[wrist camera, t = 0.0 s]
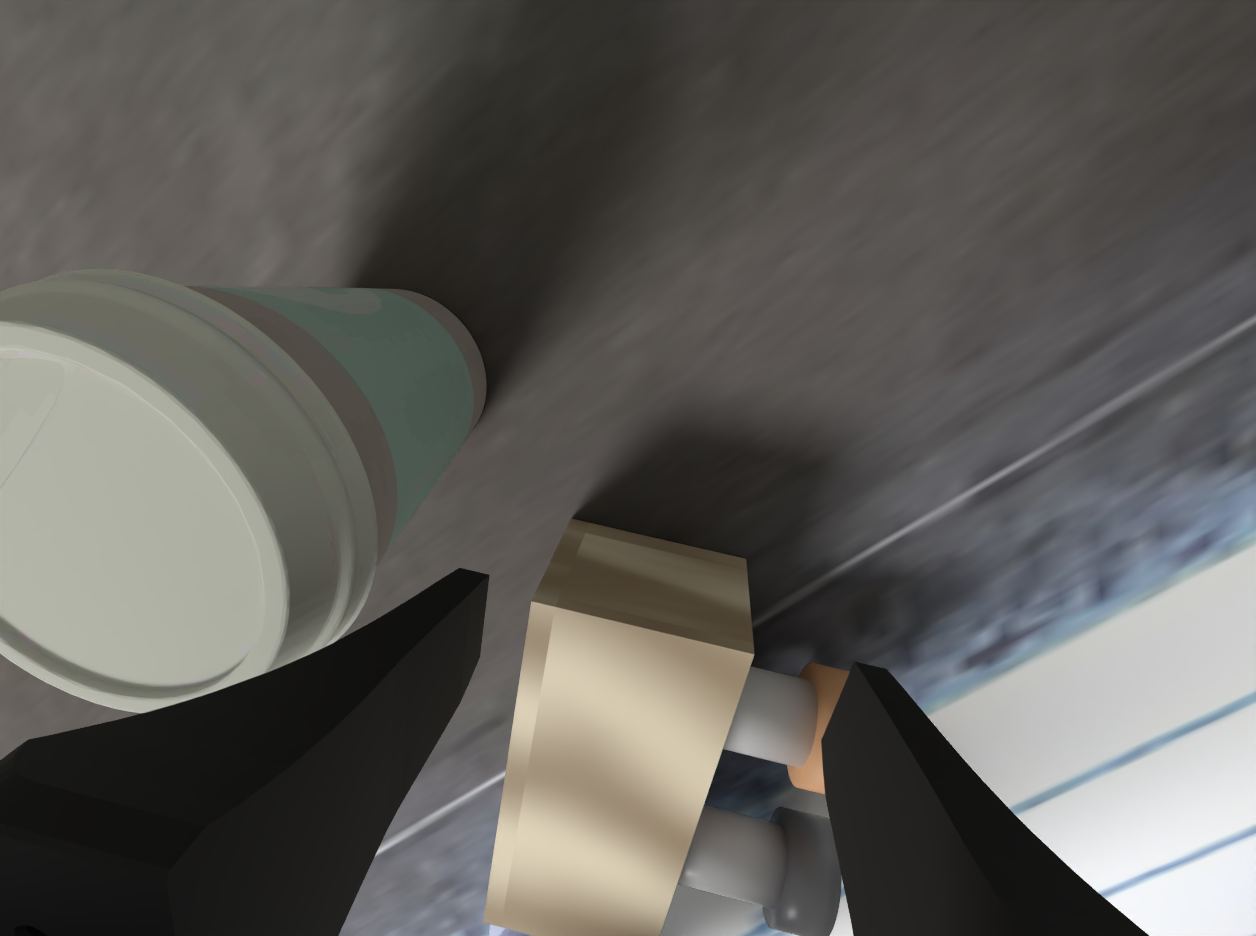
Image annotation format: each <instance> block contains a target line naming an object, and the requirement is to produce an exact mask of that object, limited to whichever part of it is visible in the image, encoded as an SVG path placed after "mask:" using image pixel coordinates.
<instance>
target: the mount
mask: <svg viewBox="0 0 1256 936" xmlns="http://www.w3.org/2000/svg"><path fill="white" fill-rule="evenodd" d="M754 655H755V654H754V643H753V631H752V620H751V609H750V597H749V586H748V574H747V563H746V559H744V558H740V557H736V556H731V555H727V554H723V553H718V552H714V551H710V550H705V549H701V548H697V547H692V546H688V545H684V544H679V543H675V542H671V541H666V540H662V539H658V538H654V537H649V536H645V535H641V534H636V533H632V532H628V531H623V530H619V529H615V528H610V527H606V526H602V525H597V524H593V523H589V522H584V521H580V520H576V519H571V520H570V522H569V524H568V526H567V528H566V530H565V532H564V534H563V536H562V539H561V541H560V543H559V545H558V547H557V549H556V551H555V553H554V555H553V557H552V559H551V561H550V564H549V566H548V568H547V570H546V572H545V574H544V576H543V578H542V580H541V582H540V584H539V587H538V589H537V591H536V593H535V595H534V597H533V599H532V601H531V608H530V614H529V621H528V627H527V634H526V641H525V647H524V654H523V661H522V667H521V674H520V681H519V687H518V694H517V701H516V707H515V714H514V721H513V727H512V734H511V740H510V747H509V754H508V760H507V767H506V774H505V780H504V787H503V794H502V800H501V807H500V814H499V820H498V827H497V833H496V840H495V847H494V853H493V860H492V867H491V873H490V880H489V887H488V893H487V900H486V907H485V913H484V920H483V922H484V923H487V924H491V925H495V926H499V927H503V928H506V929H510V930H514V931H518V932H521V933H525V934H529V935H533V936H660V933H661V930H662V928H663V925H664V922H665V919H666V916H667V913H668V910H669V907H670V904H671V901H672V898H673V895H674V892H675V889H676V886H677V883H678V880H679V877H680V874H681V871H682V868H683V865H684V862H685V859H686V856H687V853H688V850H689V847H690V844H691V841H692V838H693V836H694V833H695V830H696V827H697V824H698V821H699V818H700V815H701V812H702V809H703V806H704V803H705V800H706V797H707V794H708V791H709V788H710V785H711V782H712V779H713V776H714V773H715V770H716V767H717V764H718V761H719V758H720V755H721V752H722V749H723V747H724V744H725V741H726V738H727V735H728V732H729V729H730V726H731V723H732V720H733V717H734V714H735V711H736V708H737V705H738V702H739V699H740V696H741V693H742V690H743V687H744V684H745V681H746V678H747V675H748V672H749V669H750V666H751V663H752V660H753V657H754Z"/></svg>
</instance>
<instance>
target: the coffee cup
mask: <svg viewBox="0 0 1256 936" xmlns="http://www.w3.org/2000/svg"><path fill="white" fill-rule="evenodd" d="M486 388H487V383H486V373H485V368H484V363H483V360H482V357H481V354H480V351H479V349H478V347H477V345H476V343H475V341H474V339H473V338H472V336H471V334H470V333H469V331H468V330H467V329H466V327H465V326H464V325H463V324H462V322H461V321H460V320H459V319H458V318H457V317H456V316H455V315H454V314H453V313H451V312H450V311H449V310H448V309H447V308H445V307H444V306H443V305H441V304H439V303H438V302H436V301H434V300H433V299H431V298H429V297H427V296H424V295H422V294H419V293H416V292H412V291H408V290H402V289H377V288H311V287H219V286H182V285H179V284H177V283H174V282H171V281H168V280H165V279H161V278H158V277H154V276H151V275H147V274H142V273H137V272H131V271H125V270H115V269H81V270H73V271H67V272H62V273H58V274H54V275H50V276H47V277H44V278H42V279H39V280H37V281H34V282H29V283H25V284H21V285H18V286H14V287H11V288H8V289H6V290H3V291H1V292H0V654H2V655H3V656H4V657H6V658H7V659H9V660H10V661H11V662H13V663H15V664H16V665H18V666H19V667H21V668H22V669H24V670H26V671H27V672H29V673H30V674H32V675H34V676H36V677H37V678H39V679H41V680H43V681H45V682H46V683H48V684H51V685H53V686H55V687H57V688H59V689H61V690H63V691H65V692H67V693H70V694H72V695H75V696H77V697H80V698H83V699H85V700H88V701H91V702H94V703H97V704H100V705H104V706H107V707H111V708H115V709H120V710H124V711H129V712H137V713H146V712H149V711H153V710H156V709H160V708H163V707H167V706H170V705H174V704H177V703H180V702H184V701H187V700H190V699H193V698H196V697H200V696H203V695H206V694H209V693H212V692H215V691H218V690H220V689H223V688H226V687H229V686H231V685H234V684H237V683H240V682H242V681H245V680H248V679H250V678H253V677H256V676H259V675H261V674H264V673H267V672H270V671H272V670H274V669H277V668H279V667H282V666H284V665H286V664H289V663H291V662H293V661H295V660H298V659H300V658H302V657H305V656H307V655H309V654H311V653H313V652H316V651H318V650H320V649H322V648H324V647H326V646H328V645H330V644H332V643H334V642H335V641H336V640H338V639H339V638H340V637H341V636H342V635H343V634H344V633H345V632H346V631H347V629H348V628H349V627H350V626H351V625H352V623H353V622H354V621H355V619H356V618H357V616H358V614H359V613H360V611H361V609H362V607H363V606H364V604H365V601H366V599H367V597H368V594H369V592H370V589H371V586H372V582H373V579H374V574H375V570H376V567H377V565H378V564H379V563H380V561H381V560H382V558H383V557H384V556H385V554H386V553H387V551H388V550H389V548H390V547H391V546H392V544H393V543H394V541H395V540H396V538H397V537H398V536H399V534H400V533H401V531H402V530H403V529H404V527H405V526H406V524H407V523H408V521H409V520H410V519H411V517H412V516H413V514H414V513H415V511H416V510H417V509H418V507H419V506H420V504H421V503H422V502H423V500H424V499H425V497H426V496H427V494H428V493H429V492H430V490H431V489H432V487H433V486H434V484H435V483H436V482H437V480H438V479H439V477H440V476H441V474H442V473H443V472H444V470H445V469H446V467H447V466H448V465H449V463H450V462H451V460H452V459H453V457H454V456H455V455H456V453H457V452H458V450H459V449H460V447H461V446H462V444H463V443H464V441H465V440H466V439H467V437H468V436H469V434H470V433H471V431H472V430H473V428H474V427H475V425H476V424H477V422H478V420H479V418H480V416H481V414H482V411H483V408H484V404H485V399H486Z"/></svg>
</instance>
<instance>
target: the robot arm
mask: <svg viewBox="0 0 1256 936" xmlns="http://www.w3.org/2000/svg"><path fill="white" fill-rule="evenodd" d="M488 582H489V575H487V574H483V573H479V572H475V571H471V570H466V569H462V568H459V569H457V570H455V571H454V572H452V573H450V574H449V575H447V576H445V577H444V578H442V579H441V580H439V581H438V582H436V583H434V584H433V585H431V586H430V587H428V588H427V589H425V590H424V591H422V592H420V593H419V594H417V595H416V596H414V597H413V598H411V599H409V600H408V601H406V602H405V603H403V604H401V605H400V606H398V607H396V608H395V609H393V610H391V611H390V612H388V613H386V614H385V615H383V616H381V617H380V618H378V619H376V620H375V621H373V622H371V623H369V624H368V625H366V626H364V627H362V628H360V629H358V630H357V631H355V632H353V633H351V634H349V635H347V636H345V637H344V638H342V639H340V640H338V641H336V642H334V643H332V644H330V645H328V646H326V647H324V648H322V649H320V650H318V651H316V652H313V653H311V654H309V655H307V656H305V657H302V658H300V659H298V660H295V661H293V662H291V663H289V664H286V665H284V666H282V667H279V668H277V669H274V670H272V671H270V672H267V673H264V674H261V675H259V676H256V677H253V678H250V679H248V680H245V681H242V682H240V683H237V684H234V685H231V686H229V687H226V688H223V689H220V690H218V691H215V692H212V693H209V694H206V695H203V696H200V697H196V698H193V699H190V700H187V701H184V702H180V703H177V704H174V705H170V706H167V707H163V708H160V709H156V710H153V711H149V712H146V713H142V714H138V715H134V716H131V717H127V718H123V719H119V720H115V721H111V722H106V723H102V724H97V725H93V726H89V727H84V728H80V729H75V730H71V731H67V732H62V733H58V734H53V735H49V736H44V737H39V738H34V739H29V740H27V741H26V742H24V743H23V744H22V745H20V746H19V747H17V748H16V749H15V750H13V751H12V752H11V753H9V754H8V755H7V756H5V757H4V758H3V759H1V760H0V936H338V935H339V933H340V931H341V928H342V926H343V924H344V922H345V920H346V917H347V915H348V913H349V911H350V909H351V906H352V904H353V902H354V900H355V898H356V895H357V893H358V891H359V889H360V886H361V884H362V882H363V880H364V878H365V876H366V874H367V871H368V869H369V867H370V865H371V863H372V861H373V859H374V857H375V854H376V852H377V850H378V848H379V846H380V844H381V842H382V840H383V837H384V835H385V833H386V831H387V829H388V827H389V825H390V823H391V822H392V820H393V818H394V816H395V814H396V812H397V810H398V808H399V807H400V805H401V803H402V801H403V800H404V798H405V796H406V795H407V793H408V791H409V789H410V788H411V786H412V784H413V783H414V781H415V779H416V778H417V776H418V774H419V772H420V771H421V769H422V767H423V766H424V764H425V762H426V761H427V759H428V757H429V755H430V754H431V752H432V750H433V749H434V747H435V745H436V744H437V742H438V740H439V738H440V737H441V735H442V733H443V732H444V730H445V728H446V726H447V725H448V723H449V721H450V720H451V718H452V716H453V714H454V713H455V711H456V709H457V707H458V706H459V704H460V702H461V700H462V697H463V695H464V693H465V691H466V688H467V686H468V684H469V682H470V679H471V677H472V674H473V672H474V670H475V667H476V665H477V663H478V660H479V658H480V651H481V643H482V634H483V625H484V617H485V608H486V599H487V591H488ZM821 747H822V763H823V776H824V788H825V796H826V801H827V807H828V812H829V817H830V822H831V826H832V831H833V836H834V841H835V846H836V851H837V856H838V860H839V865H840V870H841V875H842V879H843V884H844V889H845V894H846V899H847V903H848V908H849V913H850V918H851V923H852V929H853V935H854V936H1149V935H1148V934H1146V933H1145V932H1144V931H1143V930H1142V929H1140V928H1139V927H1138V926H1137V925H1136V924H1134V923H1133V922H1132V921H1131V920H1130V919H1128V918H1127V917H1126V916H1125V915H1124V914H1123V913H1121V912H1120V911H1119V910H1118V909H1117V908H1115V907H1114V906H1113V905H1112V904H1111V903H1109V902H1108V901H1107V900H1106V899H1105V898H1104V897H1102V896H1101V895H1100V894H1099V893H1098V892H1096V891H1095V890H1094V889H1093V888H1092V887H1091V886H1090V885H1089V884H1087V883H1086V882H1085V881H1084V880H1083V879H1082V878H1081V877H1079V876H1078V875H1077V874H1076V873H1075V872H1074V871H1073V870H1072V869H1071V868H1070V867H1068V866H1067V865H1066V864H1065V863H1064V862H1063V861H1062V860H1061V859H1060V858H1059V857H1058V856H1057V855H1056V854H1055V853H1054V852H1053V851H1051V850H1050V849H1049V848H1048V847H1047V846H1046V845H1045V844H1044V843H1043V842H1042V841H1041V840H1040V839H1039V838H1038V837H1037V836H1036V835H1035V834H1033V833H1032V832H1031V831H1030V830H1029V829H1028V828H1027V827H1026V826H1025V825H1024V824H1023V823H1022V822H1021V821H1020V820H1019V819H1018V818H1017V817H1016V816H1015V815H1014V814H1013V812H1012V811H1011V810H1010V809H1009V808H1008V807H1007V806H1006V805H1005V804H1004V803H1003V802H1002V801H1001V800H1000V799H999V798H998V797H997V796H996V794H995V793H994V792H993V791H992V790H991V789H990V788H989V787H988V786H987V785H986V784H985V783H984V782H983V781H982V780H981V778H980V777H979V776H978V775H977V774H976V773H975V772H974V771H973V770H972V768H971V767H970V766H969V765H968V764H967V763H966V762H965V761H964V759H963V758H962V757H961V756H960V755H959V754H958V753H957V751H956V750H955V749H954V748H953V747H952V746H951V744H950V743H949V742H948V741H947V740H946V739H945V737H944V736H943V735H942V734H941V733H940V731H939V730H938V729H937V728H936V727H935V726H934V724H933V723H932V722H931V721H930V720H929V718H928V717H927V716H926V715H925V714H924V712H923V711H922V710H921V709H920V708H919V706H918V705H917V704H916V703H915V702H914V700H913V699H912V698H911V697H910V696H909V694H908V693H907V692H906V691H905V690H904V688H903V687H902V686H901V685H900V684H899V683H898V682H897V680H896V679H895V678H894V677H893V676H892V675H891V674H890V673H889V672H888V670H887V669H884V668H879V667H875V666H871V665H867V664H862V663H858V662H854V663H853V666H852V668H851V670H850V673H849V675H848V678H847V680H846V682H845V685H844V687H843V689H842V692H841V694H840V697H839V699H838V701H837V704H836V706H835V708H834V711H833V713H832V716H831V718H830V720H829V723H828V725H827V728H826V730H825V732H824V735H823V737H822V739H821ZM489 936H533V935H529V934H525V933H521V932H518V931H514V930H510V929H506V928H503V927H499V926H495V925H491V924H490V931H489Z"/></svg>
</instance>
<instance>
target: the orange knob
mask: <svg viewBox="0 0 1256 936" xmlns="http://www.w3.org/2000/svg"><path fill="white" fill-rule="evenodd" d="M849 673H850V672H849V671H845V670H841V669H837V668H833V667H828V666H824V665H820V664H816V663H809V664H808V665H806V666H805V668H804V669H803V670H802V672H801V674H800V676H799V678H797V677H793V676H789V675H785V674H781V673H776V672H772V671H768V670H764V669H760V668H756V667H751V666H750V669H749V672H748V675H747V678H746V681H745V684H744V687H743V690H742V693H741V696H740V699H739V702H738V705H737V708H736V711H735V714H734V717H733V720H732V723H731V726H730V729H729V732H728V735H727V738H726V741H725V744H724V747H723V749H725V750H729V751H733V752H737V753H741V754H745V755H749V756H753V757H758V758H762V759H766V760H770V761H774V762H778V763H782V764H786V765H787V768H788V773H789V777H790V780H791V782H792V784H793V785H794V786H795V787H797V788H801V789H805V790H809V791H813V792H817V793H821V794H825V788H824V776H823V763H822V747H821V739H822V737H823V735H824V732H825V730H826V728H827V725H828V723H829V720H830V718H831V716H832V713H833V711H834V708H835V706H836V704H837V701H838V699H839V697H840V694H841V692H842V689H843V687H844V685H845V682H846V680H847V678H848V675H849Z"/></svg>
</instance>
